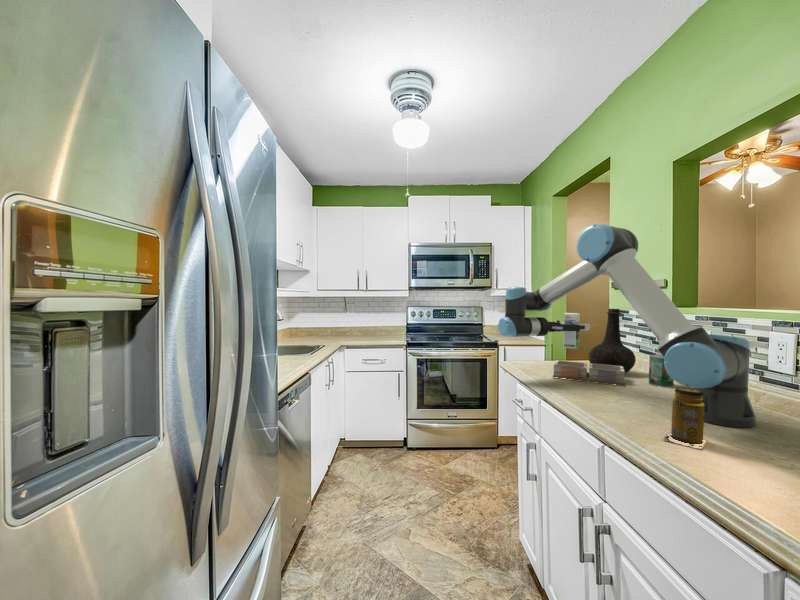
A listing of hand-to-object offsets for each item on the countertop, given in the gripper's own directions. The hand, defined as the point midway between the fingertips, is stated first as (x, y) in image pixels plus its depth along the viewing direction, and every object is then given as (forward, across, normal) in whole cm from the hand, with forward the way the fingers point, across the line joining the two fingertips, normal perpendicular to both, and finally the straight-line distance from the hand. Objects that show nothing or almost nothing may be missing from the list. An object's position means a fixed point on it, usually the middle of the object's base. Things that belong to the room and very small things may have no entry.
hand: (580, 326), depth 160 cm
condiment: (-31, +65, -21) cm, 75 cm away
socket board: (-1, +6, -21) cm, 21 cm away
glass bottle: (+18, -1, -21) cm, 28 cm away
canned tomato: (+18, +22, -21) cm, 35 cm away
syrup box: (-5, 0, -9) cm, 10 cm away
